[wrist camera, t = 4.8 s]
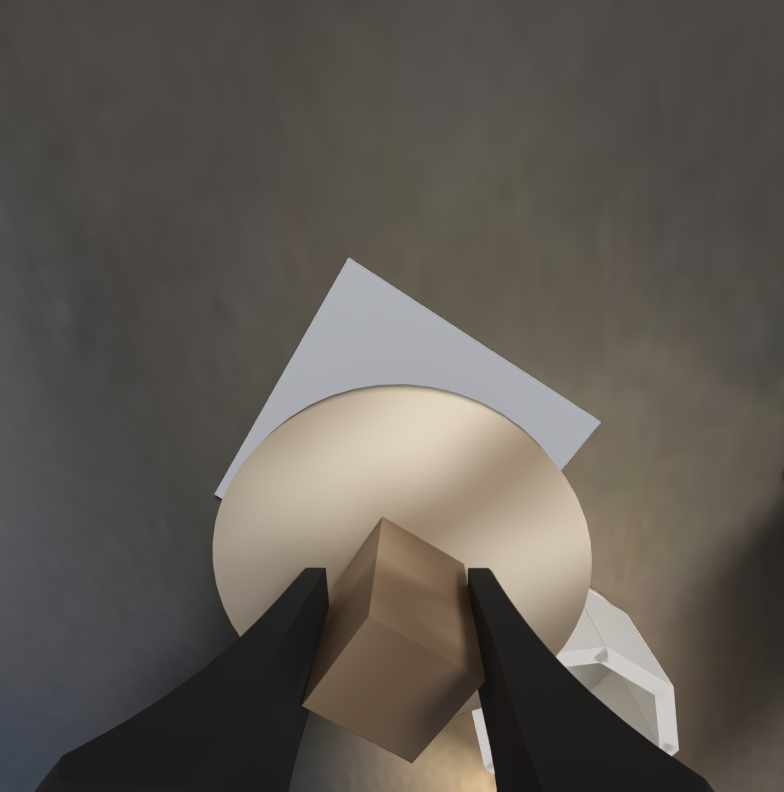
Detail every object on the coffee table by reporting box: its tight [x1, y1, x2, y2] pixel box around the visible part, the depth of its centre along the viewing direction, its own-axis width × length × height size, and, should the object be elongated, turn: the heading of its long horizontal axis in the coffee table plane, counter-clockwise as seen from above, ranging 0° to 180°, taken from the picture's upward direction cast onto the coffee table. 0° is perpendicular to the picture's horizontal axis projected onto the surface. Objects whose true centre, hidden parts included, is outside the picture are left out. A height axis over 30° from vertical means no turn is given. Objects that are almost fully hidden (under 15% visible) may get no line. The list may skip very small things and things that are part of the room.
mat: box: [215, 258, 601, 499], centre depth 21 cm, size 14×14×1 cm
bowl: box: [472, 587, 679, 774], centre depth 21 cm, size 9×9×5 cm
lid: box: [213, 384, 592, 763], centre depth 12 cm, size 12×12×5 cm
